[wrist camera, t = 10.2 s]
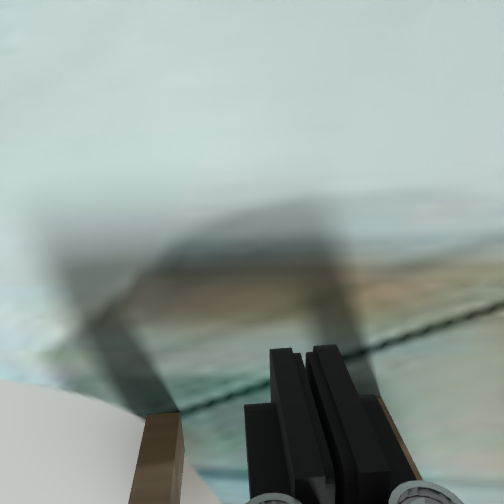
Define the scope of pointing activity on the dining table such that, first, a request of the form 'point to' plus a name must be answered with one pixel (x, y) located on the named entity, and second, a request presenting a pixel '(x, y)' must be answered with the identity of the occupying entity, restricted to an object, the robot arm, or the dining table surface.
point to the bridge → (182, 459)
